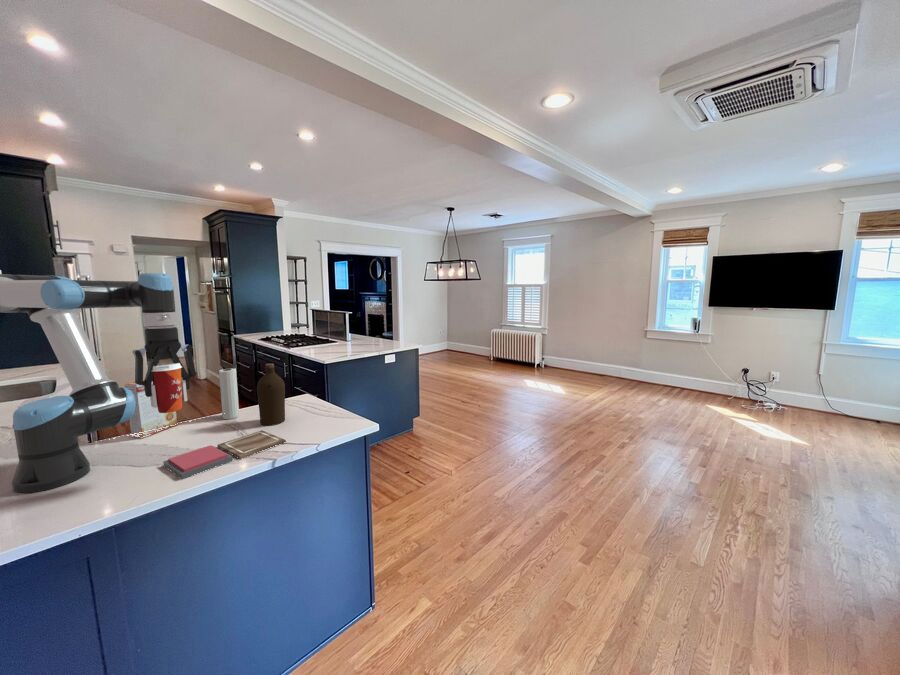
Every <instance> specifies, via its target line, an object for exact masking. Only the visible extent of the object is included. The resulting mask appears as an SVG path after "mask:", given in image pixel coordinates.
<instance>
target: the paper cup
mask: <svg viewBox="0 0 900 675" xmlns="http://www.w3.org/2000/svg"><path fill="white" fill-rule="evenodd" d="M181 368H182V366H181V365H180V363H173V361H171V362H160V363H158V365H157V366H154V367H153V370H152V371H153V375H154V377H153V380H152V381H153V385H155V391H156V400H157V407H158V411H159V413H170V412H175V411H176V412H178V411H180V410H182V409H183V401H182V384H181V379H182V377H181Z"/></svg>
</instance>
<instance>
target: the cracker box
mask: <svg viewBox="0 0 900 675" xmlns="http://www.w3.org/2000/svg"><path fill="white" fill-rule="evenodd" d="M144 380H145V379H143V381H144ZM151 384H153V381H152V383H151ZM124 388H128V389H129V390H131V392H132V393H133V395H134V397H135V404H136V405H135V410H134V414H133V415H132V417H131V418H130V419H129V420H128V422H129V428H130V435H131V434H134V433H139V432H144V431H148V430H152V429H157V430H161V429H159V428H162V429H165V428H163V427H166V426H170V425H175V424H177V425H178V419H177V411H175V412H170V413H159V411H158V407H157V408H153V407H152V406H151V400H150V397H147V396H146V395H145V388H144V386H143V385H138V384H136V383H135V381H133V382H127V383H125V384H124ZM175 426H176V425H175ZM173 427H174V426H171V427H168V429H170V428H173ZM157 430H152V431H148V432H144V433H145V434H143V433H139V434H142V435H139V436H140V437H143V436H146V435H149V434H152V435H155V434H157ZM165 430H166V429H165ZM155 431H156V432H155ZM163 431H164V430H162V431H158V433H161V432H163ZM154 433H155V434H154ZM135 435H137V434H135Z"/></svg>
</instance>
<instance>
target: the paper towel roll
mask: <svg viewBox="0 0 900 675" xmlns="http://www.w3.org/2000/svg"><path fill="white" fill-rule="evenodd" d="M218 373H219V374H218V375H219V385H220V386H219V387H220V399H221V414H222V419H224V420H233V419H235V418H238V417H239V416H240V408H239V407H240V406H239V405H240V404H239V393H238V392H239V390H238V381H237V380H238V377H237V368H236V367H234V368H224V369H223V368H222V369H220V370H218ZM224 413H225V414H224Z"/></svg>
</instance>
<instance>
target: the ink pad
mask: <svg viewBox="0 0 900 675" xmlns="http://www.w3.org/2000/svg"><path fill="white" fill-rule="evenodd" d="M233 458H234V457H233V455H231V454H229V453H227V452H226V451H224V450H222V449H220V448H218V447H215V446H213V445H207V446H204V447H201V448H197V449H195V450H191V451H188V452H185V453H182V454H178V455H176V456H172V457H168V458H167V460H164V461H163V462H162V463H163V467H164V466H165V467H164V468H165V469H167V468H168V469H169V470H168V469H167V470H168V471H170V470H171V471H172V472H171V471H170V472H171V473H173V474H174V473H175V474H176V475H175V474H174V475H175V476H176V477H178V476H179V477H178V478H180V480H184V478H185V479H188V478H190V477H193V476H195V475H194V474H196V475H198V474H197V473H199V474H201V473H204V472H206V471H205V470H207V471H209V470H211V469H210V468H212V469H214V468H213V467H215V466H218V465H220V466H222V465H221V464H223V465H225V464H224V463H226V464H228V463H231V462H233V461H232V460H233ZM230 461H231V462H230ZM227 462H228V463H227ZM218 467H219V466H218ZM215 468H216V467H215ZM208 469H209V470H208ZM203 471H204V472H203ZM200 472H201V473H200ZM192 475H193V476H192ZM187 477H188V478H187Z"/></svg>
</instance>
